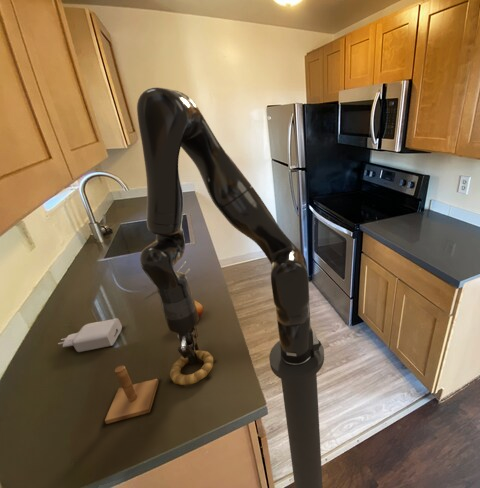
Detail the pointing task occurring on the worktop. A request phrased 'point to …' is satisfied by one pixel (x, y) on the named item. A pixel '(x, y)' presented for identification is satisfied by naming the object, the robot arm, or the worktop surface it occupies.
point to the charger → (94, 335)
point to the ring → (194, 377)
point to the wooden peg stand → (131, 397)
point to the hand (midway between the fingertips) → (194, 357)
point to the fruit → (199, 308)
